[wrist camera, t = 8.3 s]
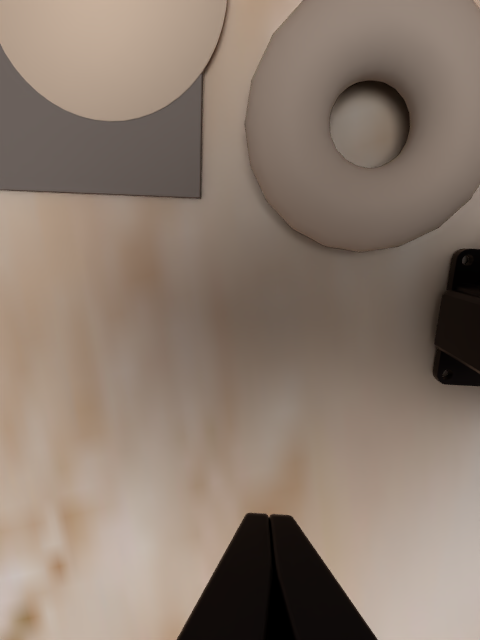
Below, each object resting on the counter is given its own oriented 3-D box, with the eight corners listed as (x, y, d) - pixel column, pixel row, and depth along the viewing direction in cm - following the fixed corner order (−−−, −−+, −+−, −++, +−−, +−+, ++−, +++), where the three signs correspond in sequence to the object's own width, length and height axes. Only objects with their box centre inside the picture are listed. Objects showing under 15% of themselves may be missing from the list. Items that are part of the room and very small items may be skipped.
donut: (201, 109, 16) (324, 292, 18) (187, 75, 13) (340, 304, 14) (399, -53, 15) (517, 162, 16) (442, -139, 11) (586, 142, 13)
